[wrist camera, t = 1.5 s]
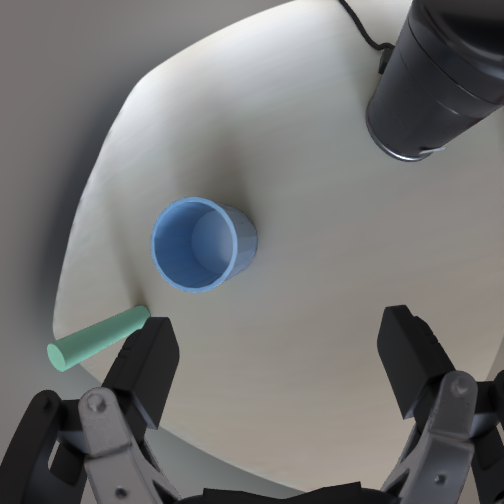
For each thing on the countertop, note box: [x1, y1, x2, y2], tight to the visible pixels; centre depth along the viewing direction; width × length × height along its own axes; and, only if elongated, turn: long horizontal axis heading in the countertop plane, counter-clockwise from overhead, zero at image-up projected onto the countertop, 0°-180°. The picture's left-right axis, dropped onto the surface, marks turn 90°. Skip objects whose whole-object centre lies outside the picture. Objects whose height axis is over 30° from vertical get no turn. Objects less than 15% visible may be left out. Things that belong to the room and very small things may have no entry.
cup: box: [151, 197, 257, 293], centre depth 27 cm, size 8×8×9 cm
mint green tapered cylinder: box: [47, 305, 150, 371], centre depth 27 cm, size 3×3×16 cm
